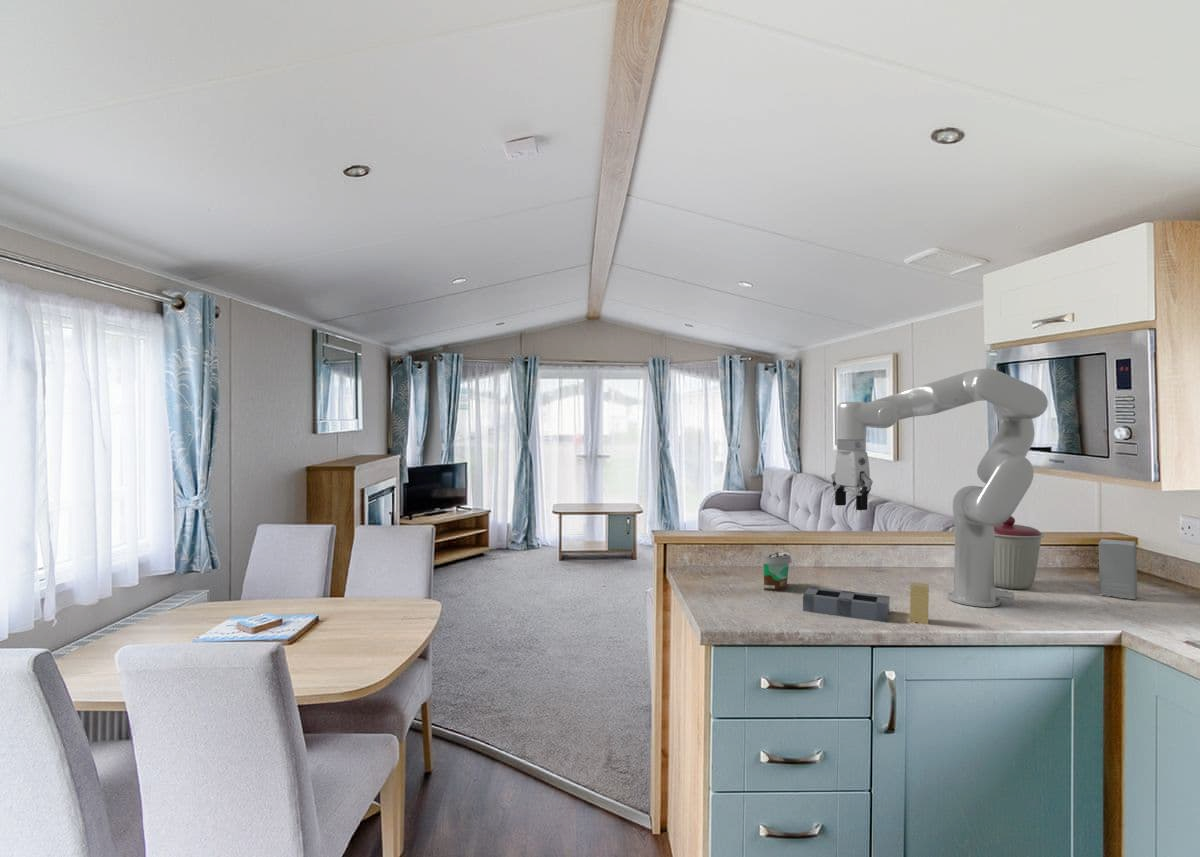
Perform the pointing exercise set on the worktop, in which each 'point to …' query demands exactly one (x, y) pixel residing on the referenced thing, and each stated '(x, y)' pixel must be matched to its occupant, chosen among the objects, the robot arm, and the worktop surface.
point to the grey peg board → (847, 603)
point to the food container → (776, 571)
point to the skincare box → (1118, 568)
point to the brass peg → (919, 602)
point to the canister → (1015, 555)
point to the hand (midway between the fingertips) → (850, 507)
